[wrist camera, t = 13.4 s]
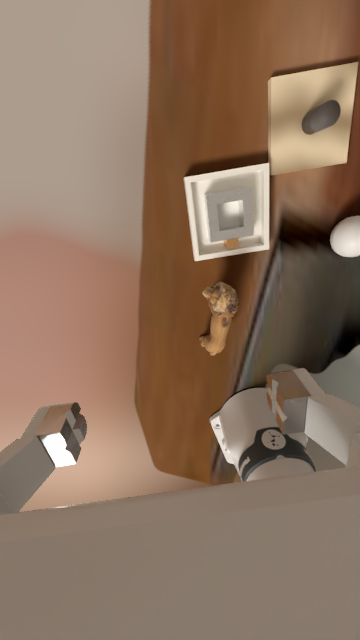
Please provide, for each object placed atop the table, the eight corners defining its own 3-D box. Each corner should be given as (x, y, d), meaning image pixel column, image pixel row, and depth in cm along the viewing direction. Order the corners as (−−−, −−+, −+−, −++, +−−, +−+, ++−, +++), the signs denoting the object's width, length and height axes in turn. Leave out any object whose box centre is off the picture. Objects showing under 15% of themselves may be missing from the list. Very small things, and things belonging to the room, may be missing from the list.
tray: (264, 246, 39) (269, 249, 37) (193, 258, 39) (194, 261, 38) (264, 164, 34) (269, 162, 33) (183, 178, 35) (184, 177, 33)
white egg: (330, 260, 41) (353, 269, 36) (316, 229, 38) (338, 235, 33) (377, 230, 39) (409, 235, 34) (366, 196, 37) (397, 197, 32)
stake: (341, 163, 35) (367, 158, 30) (268, 176, 35) (282, 173, 30) (352, 65, 30) (384, 43, 26) (268, 80, 31) (285, 61, 26)
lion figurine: (197, 271, 40) (204, 290, 32) (231, 269, 41) (246, 288, 33) (198, 349, 47) (205, 382, 39) (227, 348, 47) (239, 380, 39)
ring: (247, 187, 35) (252, 187, 33) (249, 240, 38) (254, 243, 36) (203, 195, 35) (206, 195, 33) (209, 247, 38) (211, 250, 36)
